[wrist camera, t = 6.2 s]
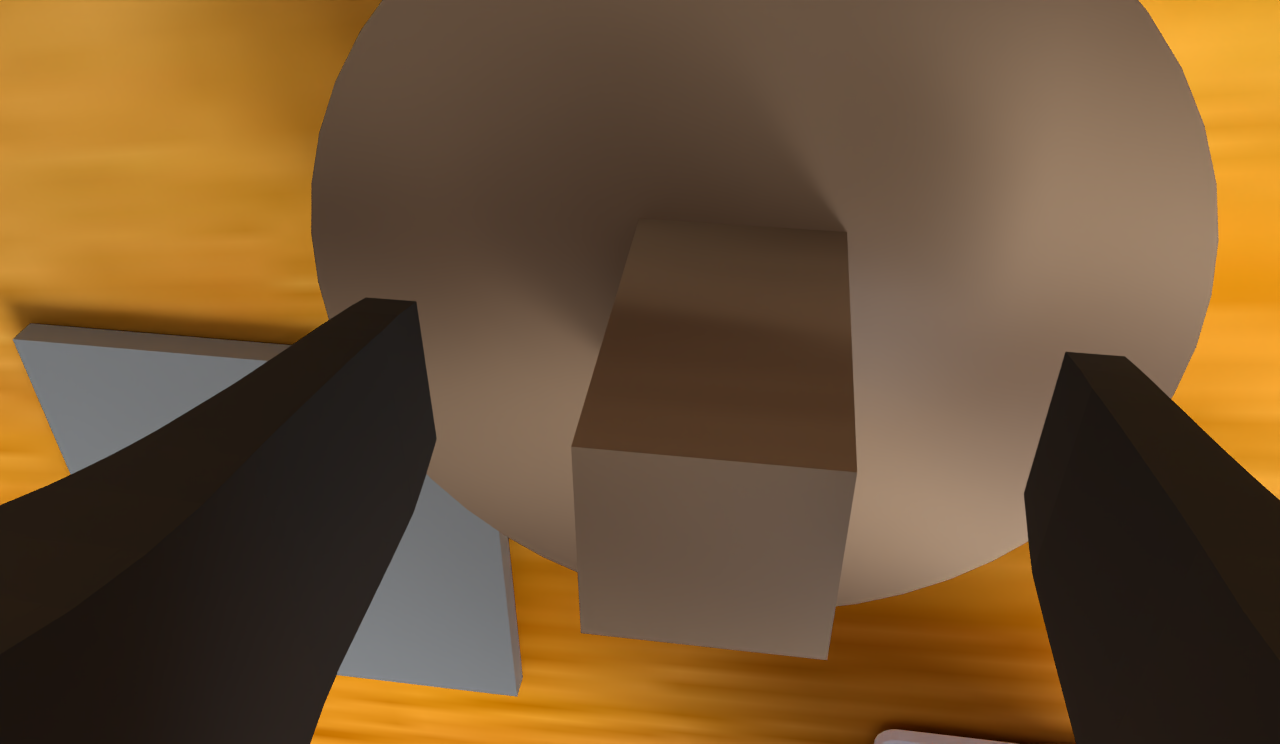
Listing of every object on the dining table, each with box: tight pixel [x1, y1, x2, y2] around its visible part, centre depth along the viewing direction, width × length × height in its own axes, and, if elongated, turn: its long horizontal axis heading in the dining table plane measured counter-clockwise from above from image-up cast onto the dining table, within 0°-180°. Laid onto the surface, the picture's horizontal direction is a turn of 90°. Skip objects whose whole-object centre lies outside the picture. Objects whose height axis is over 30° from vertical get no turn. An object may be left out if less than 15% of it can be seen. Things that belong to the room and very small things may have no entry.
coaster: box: [13, 323, 523, 696], centre depth 24 cm, size 10×10×1 cm
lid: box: [311, 0, 1218, 660], centre depth 12 cm, size 12×12×5 cm
